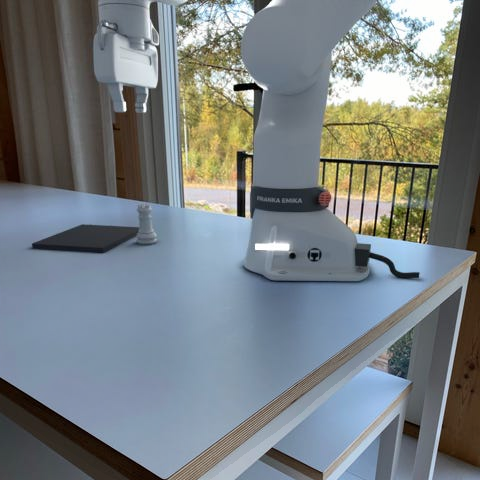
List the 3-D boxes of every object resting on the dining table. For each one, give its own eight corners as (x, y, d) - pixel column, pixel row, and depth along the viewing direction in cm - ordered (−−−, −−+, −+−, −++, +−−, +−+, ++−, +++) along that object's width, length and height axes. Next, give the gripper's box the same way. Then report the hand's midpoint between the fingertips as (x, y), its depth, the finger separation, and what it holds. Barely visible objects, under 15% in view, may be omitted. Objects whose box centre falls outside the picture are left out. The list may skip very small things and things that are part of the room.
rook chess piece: (155, 239, 105) (153, 202, 102) (158, 244, 101) (156, 206, 98) (135, 240, 104) (131, 203, 100) (137, 245, 100) (134, 207, 97)
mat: (143, 231, 112) (143, 227, 112) (103, 252, 94) (103, 247, 94) (82, 228, 116) (81, 224, 115) (32, 248, 98) (31, 243, 97)
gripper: (115, 16, 75) (122, 112, 80) (162, 36, 93) (165, 113, 99) (79, 17, 76) (88, 111, 81) (132, 37, 94) (137, 113, 100)
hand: (131, 112), depth 90 cm, fingers open, 8 cm apart
